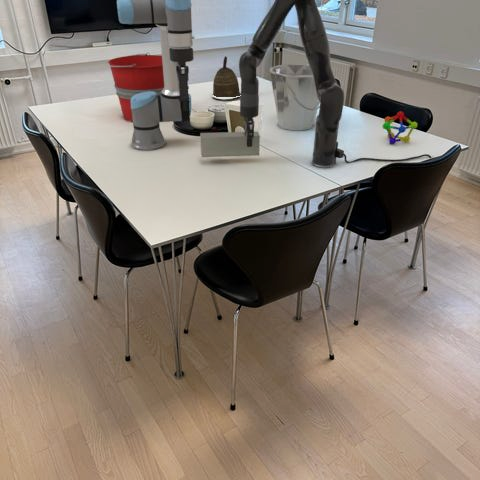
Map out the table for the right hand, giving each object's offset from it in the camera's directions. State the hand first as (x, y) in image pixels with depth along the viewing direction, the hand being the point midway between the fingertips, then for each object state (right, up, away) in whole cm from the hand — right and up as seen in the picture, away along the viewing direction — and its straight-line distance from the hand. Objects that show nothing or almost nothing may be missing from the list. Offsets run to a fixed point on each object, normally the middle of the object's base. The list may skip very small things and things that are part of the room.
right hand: (248, 143), depth 187 cm
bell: (-12, +50, +94) cm, 107 cm away
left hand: (-22, +2, -36) cm, 43 cm away
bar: (-8, -4, +1) cm, 9 cm away
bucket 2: (+26, +20, +46) cm, 56 cm away
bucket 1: (-56, +29, +59) cm, 87 cm away
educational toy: (+71, +5, +23) cm, 75 cm away
